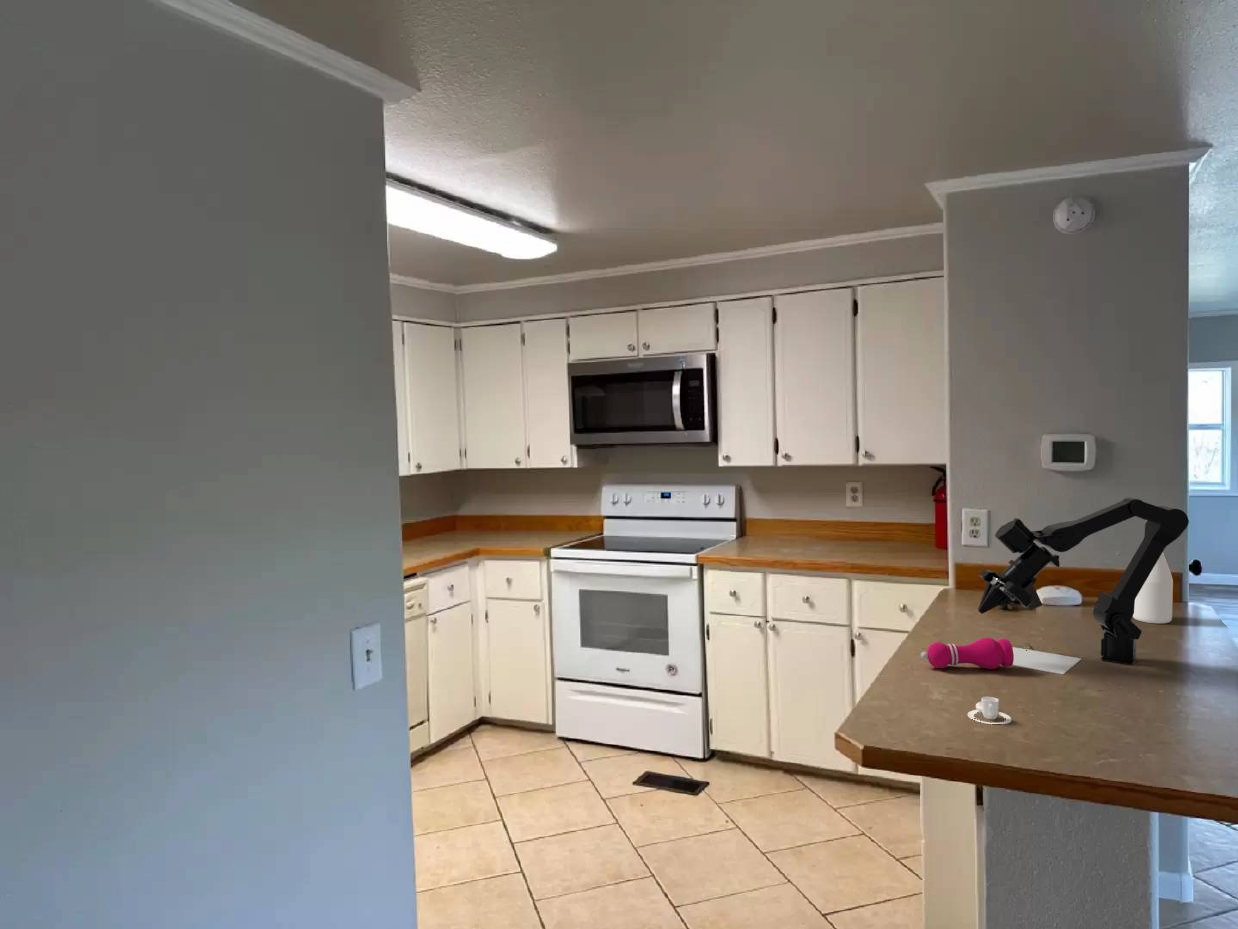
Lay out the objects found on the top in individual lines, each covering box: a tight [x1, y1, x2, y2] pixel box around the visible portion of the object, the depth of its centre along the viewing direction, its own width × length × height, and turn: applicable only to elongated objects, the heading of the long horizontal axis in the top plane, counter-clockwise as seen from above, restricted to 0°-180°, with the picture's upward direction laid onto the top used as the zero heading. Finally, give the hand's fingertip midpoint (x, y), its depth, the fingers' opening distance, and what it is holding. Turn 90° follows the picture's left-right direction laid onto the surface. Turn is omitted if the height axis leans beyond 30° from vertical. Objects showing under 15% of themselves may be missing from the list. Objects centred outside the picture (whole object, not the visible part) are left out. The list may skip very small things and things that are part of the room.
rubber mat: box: [1012, 646, 1082, 675], centre depth 202 cm, size 20×15×1 cm
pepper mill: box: [920, 637, 1014, 670], centre depth 196 cm, size 7×7×20 cm
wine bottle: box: [1132, 520, 1174, 624], centre depth 234 cm, size 10×10×30 cm
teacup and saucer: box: [967, 696, 1013, 725], centre depth 165 cm, size 9×8×4 cm
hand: (979, 612), depth 202 cm, fingers closed
